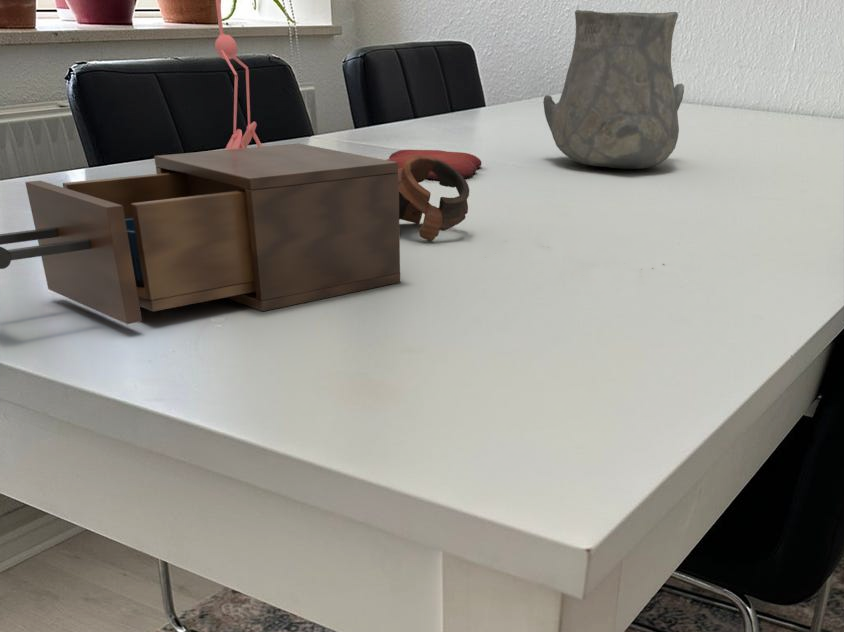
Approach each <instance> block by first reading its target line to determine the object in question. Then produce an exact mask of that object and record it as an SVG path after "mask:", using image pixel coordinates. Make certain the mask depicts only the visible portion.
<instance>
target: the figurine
mask: <svg viewBox="0 0 844 632" xmlns="http://www.w3.org/2000/svg"><path fill="white" fill-rule="evenodd" d="M215 6H216V14H217V21H218V29H219V35H218V36H217V38H216V40H215V42H214V49H215V51H216V53H217V54H218V56H219V57H220V58H222V59H223V60H225V62H226V63H227V65H228V67H229V68H230V70H231V71H232V73H233V75H234V89H233V92H234V93H233V94H234V95H233V98H234V99H233V130H232V131H233V132H232V133H233V134H232V135H231V137H230V139H229V140H228V142H227V144H226V147H225V149H224V150H229V149H241V148H248V146H249V144H250V142H251V141H252V139H253V140H254V142H255V143H256V146H257V147H264V146H263V145H262V143H261V141H260V139H259V137H258V135H257V133H256V129H257V126H258V125H257V122H256V121H254V120H253V122H251V104H250V103H251V101H250V97H251V96H250V70H249V67H248V66H247V65H246V64H245V63H244V62H243V61H241V60H240V59H239V58H238V57H237V56H236V55H237V53H238V45H237V42H236V40H235V39H234V37H233V36H231V35H230V34H225V33H224V28H223V19H222V17H223V16H222V9H221V8H222V7H221V0H215ZM231 59H233V60H234V61H236V63H238V64H239V65H240V66H241V67H243V68H244V69H245V86H246V87H245V88H246V109H247V126H245V127H246V130H245V132H244V134H243V131H242V129H240V128H237V119H238V118H237V114H238V89H239V88H238V87H239V84H238V83H239V82H238V81H239V75H238V72H237V71H236V70H235V68H234V66H233V64H232V63H231V61H230V60H231Z"/></svg>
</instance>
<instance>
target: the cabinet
mask: <svg viewBox="0 0 844 632" xmlns="http://www.w3.org/2000/svg"><path fill="white" fill-rule="evenodd" d="M153 158H154V165H155V173H156V174H159V173H169V172H180V173H184V174H188V175H192V176H196V177H200V178H204V179H208V180H213V181H217V182H221V183H225V184H229V185H233V186H237V187H241V188H245V189H246V200H247V210H248V220H249V230H250V241H251V251H252V261H253V271H254V281H255V291H256V292H251V293H245V294H240V295H235V296H230V297H225V298H224V299H228V300H231V301H234V302H236V303H238V304H242V305H244V306H247V307H250V308H253V309H256V310H259V311H261V312H267V311H272V310H276V309H280V308H285V307H286V308H287V307H290V306H295V305H298V304H304V303H309V302H313V301H318V300H319V301H320V300H323V299H328V298H332V297H337V296H342V295H347V294H351V293H357V292H361V291H366V290H370V289H375V288H380V287H386V286H389V285H395V284H399V283H401V249H400V248H401V247H400V245H401V243H400V239H401V238H400V220H399V175H398V162H393V161H388V160H387V159H383V158H377V157H372V156H367V155H362V154H357V153H356V154H355V153H350V152H345V151H340V150H336V149H329V148H324V147H319V146H315V145H309V144H304V143H287V144H278V145H267V146H263V147H258V146H254V147H247V148H241V149H229V150H225V149H220V150H209V151H207V150H206V151H197V152H194V151H193V152H185V153H184V152H183V153H173V154H161V155H154V156H153Z"/></svg>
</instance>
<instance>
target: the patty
mask: <svg viewBox="0 0 844 632" xmlns="http://www.w3.org/2000/svg"><path fill="white" fill-rule="evenodd" d="M413 156H426V157H430V158H433V159H437V160H440V161H442V162H444V163H446V164H448V165H450V166H451V167H453V168H454V169H456V170H457V171H458V172H459V173H460V174H461V175H462V176H463V178H464V179H466V178H469V177H472V176H473V174H475V173H476V172H477V171H478V169H479V168H480V167H482V160H481V159H480V158H479V157H478V156H477V155H474V154H472V153H467V152H461V151H460V152H459V151H446V150H439V149H399V150H397V151H395V152H392V153H390V155H389V156H388V159H386V160H388V161H393V162H398V169H400V168H402V167H403V165H404V162H405V161H406V160H407V159H408V158H410V157H413ZM426 179H429V180H437V181H440V180H439V179H438V177H437V175H436V174H435V173H433V172H432V171H430V172H429V174H428V177H427V178H426Z"/></svg>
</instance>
